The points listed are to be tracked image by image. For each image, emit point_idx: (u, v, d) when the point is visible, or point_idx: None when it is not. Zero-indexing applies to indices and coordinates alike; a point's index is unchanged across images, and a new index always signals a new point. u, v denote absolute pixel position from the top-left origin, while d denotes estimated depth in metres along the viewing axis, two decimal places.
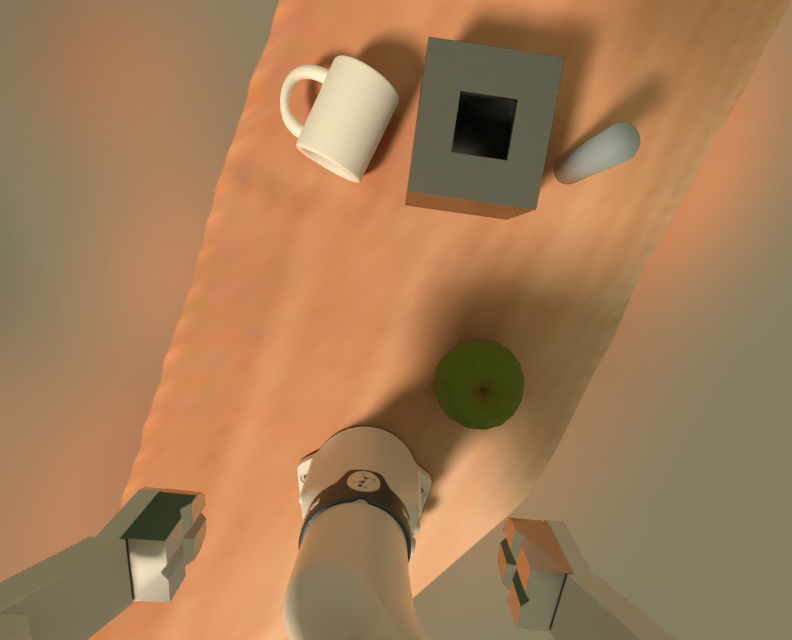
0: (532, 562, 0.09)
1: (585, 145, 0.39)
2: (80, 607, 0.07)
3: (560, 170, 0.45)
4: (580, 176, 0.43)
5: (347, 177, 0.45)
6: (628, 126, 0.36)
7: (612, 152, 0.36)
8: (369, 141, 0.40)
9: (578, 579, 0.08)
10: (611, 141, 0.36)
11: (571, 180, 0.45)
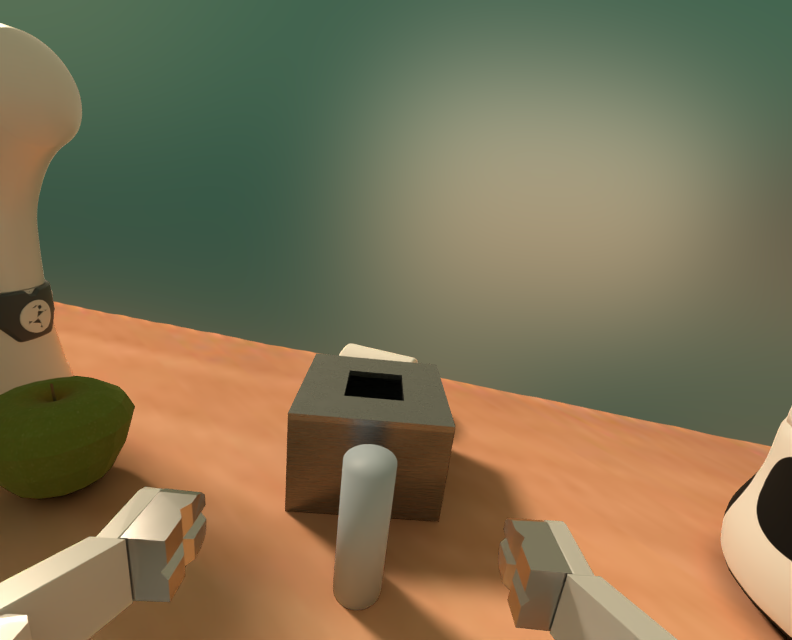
0: (532, 562, 0.09)
1: None
2: (80, 607, 0.07)
3: None
4: None
5: None
6: (392, 466, 0.25)
7: (356, 453, 0.25)
8: None
9: (578, 579, 0.08)
10: (370, 452, 0.26)
11: None
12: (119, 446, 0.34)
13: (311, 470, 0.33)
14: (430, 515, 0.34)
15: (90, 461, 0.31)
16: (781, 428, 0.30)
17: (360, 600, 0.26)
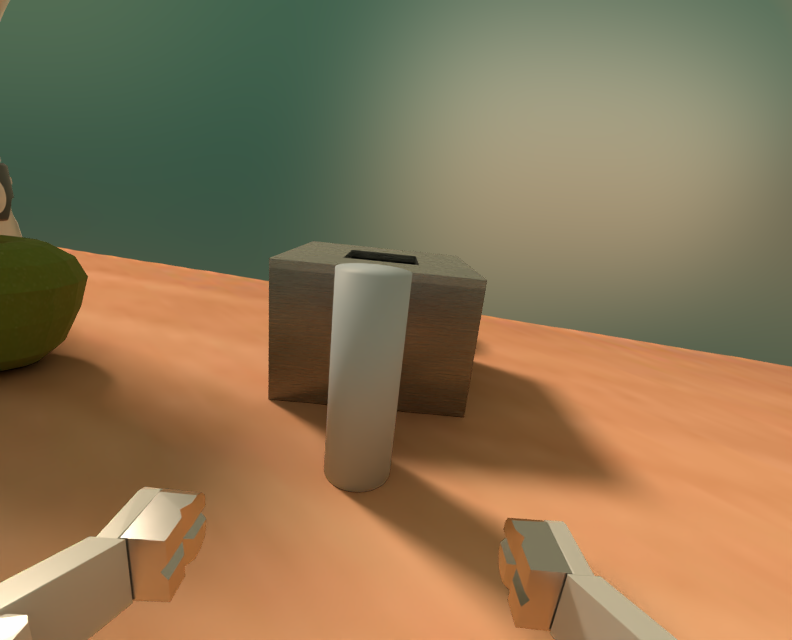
0: (532, 562, 0.09)
1: None
2: (80, 607, 0.07)
3: None
4: None
5: None
6: (405, 274, 0.17)
7: (354, 265, 0.18)
8: None
9: (578, 579, 0.08)
10: (374, 266, 0.18)
11: None
12: (63, 316, 0.27)
13: (300, 342, 0.26)
14: (453, 408, 0.27)
15: (19, 320, 0.24)
16: None
17: (361, 477, 0.19)
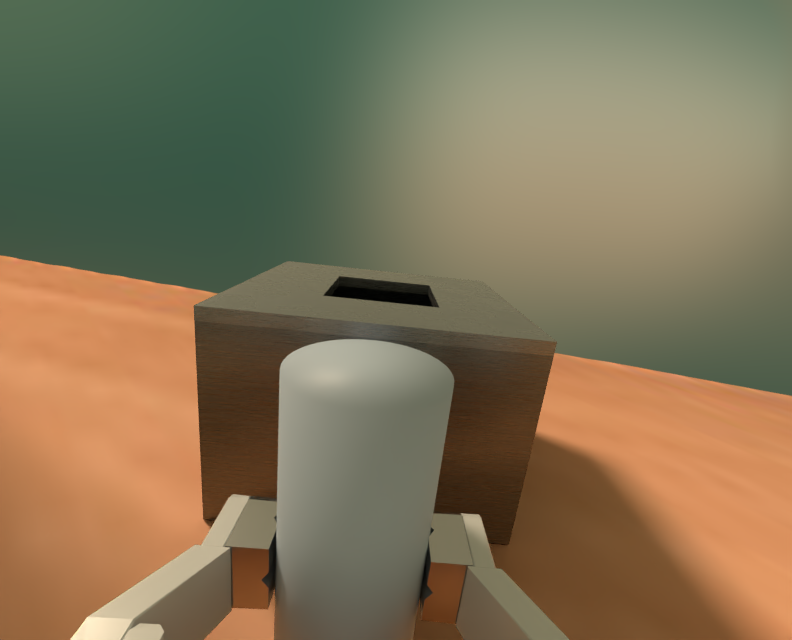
0: (434, 554, 0.08)
1: None
2: (193, 615, 0.08)
3: None
4: None
5: None
6: (440, 382, 0.08)
7: (326, 353, 0.08)
8: None
9: (477, 571, 0.08)
10: (369, 352, 0.09)
11: None
12: None
13: (251, 436, 0.16)
14: (492, 531, 0.17)
15: None
16: None
17: None
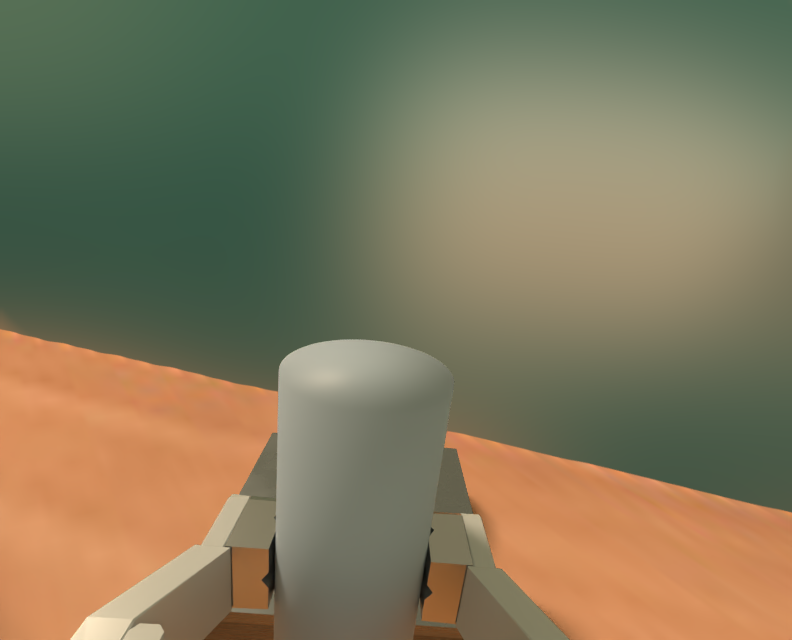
0: (435, 554, 0.08)
1: None
2: (193, 615, 0.08)
3: None
4: None
5: None
6: (440, 383, 0.08)
7: (326, 354, 0.08)
8: None
9: (477, 571, 0.08)
10: (369, 352, 0.09)
11: None
12: None
13: None
14: None
15: None
16: None
17: None
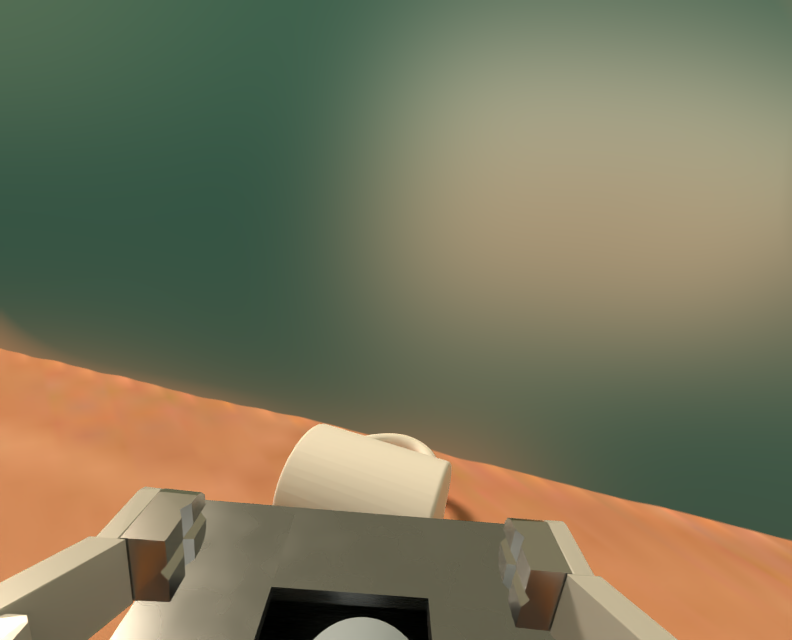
0: (532, 562, 0.09)
1: None
2: (80, 607, 0.07)
3: None
4: None
5: None
6: None
7: None
8: (332, 504, 0.23)
9: (578, 579, 0.08)
10: None
11: None
12: None
13: None
14: None
15: None
16: None
17: None
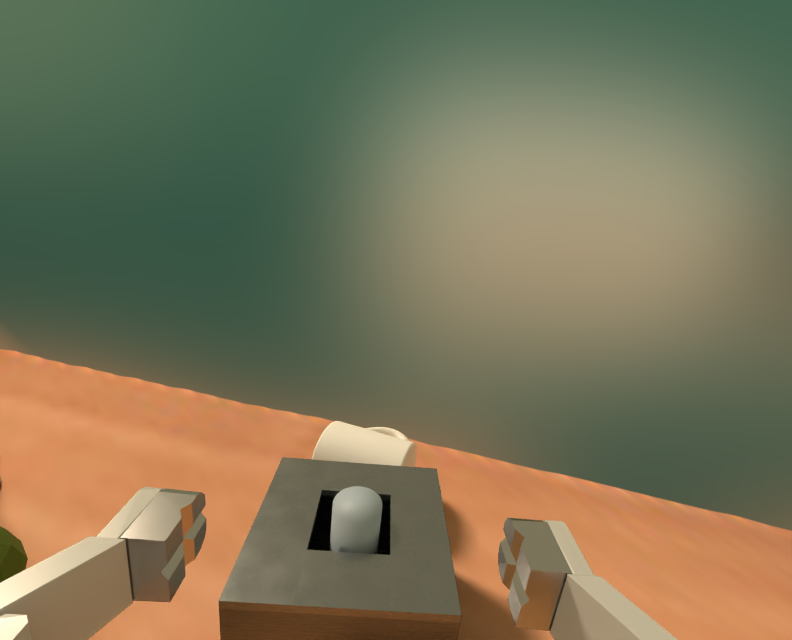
0: (532, 562, 0.09)
1: None
2: (80, 607, 0.07)
3: None
4: None
5: None
6: (378, 507, 0.27)
7: (344, 497, 0.28)
8: None
9: (578, 579, 0.08)
10: (357, 494, 0.28)
11: None
12: None
13: None
14: None
15: None
16: None
17: None
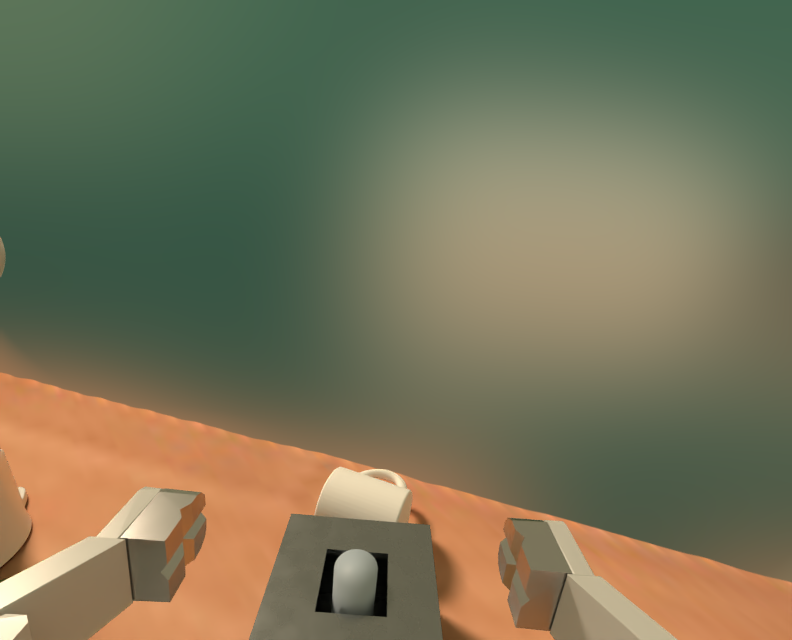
0: (532, 562, 0.09)
1: None
2: (80, 607, 0.07)
3: None
4: None
5: None
6: (374, 571, 0.31)
7: (344, 561, 0.32)
8: (346, 514, 0.44)
9: (578, 579, 0.08)
10: (355, 558, 0.32)
11: None
12: None
13: None
14: None
15: None
16: None
17: None
